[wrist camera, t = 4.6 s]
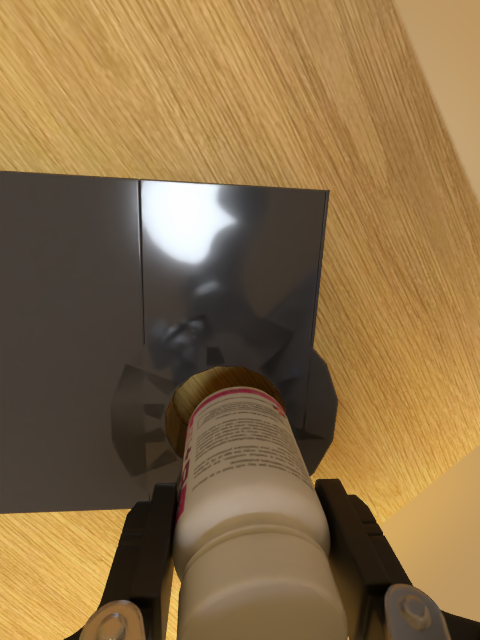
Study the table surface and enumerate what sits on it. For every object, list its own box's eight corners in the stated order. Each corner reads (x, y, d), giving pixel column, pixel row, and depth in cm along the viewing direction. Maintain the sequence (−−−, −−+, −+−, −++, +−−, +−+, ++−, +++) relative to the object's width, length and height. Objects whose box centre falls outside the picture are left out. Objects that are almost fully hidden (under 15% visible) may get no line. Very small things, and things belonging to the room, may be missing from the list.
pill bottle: (170, 406, 15) (118, 615, 7) (267, 367, 15) (333, 532, 7) (210, 485, 16) (208, 739, 8) (300, 450, 16) (389, 673, 8)
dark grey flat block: (339, 199, 17) (365, 192, 14) (308, 473, 21) (324, 511, 18) (-28, 178, 15) (-84, 164, 12) (17, 481, 19) (-17, 525, 16)
